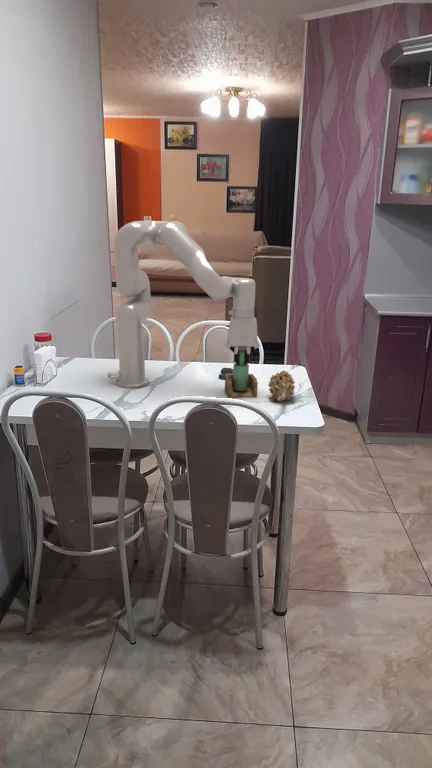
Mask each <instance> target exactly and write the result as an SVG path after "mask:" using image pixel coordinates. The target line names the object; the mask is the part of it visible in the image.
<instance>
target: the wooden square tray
mask: <svg viewBox="0 0 432 768" xmlns="http://www.w3.org/2000/svg"><path fill="white" fill-rule="evenodd" d="M255 378H256V377H255V375H254V374H253V373H249V374H248V389H247V390H245V391H237V390H234V389H233V374H225V380H224V390H225V393H226V395H227V398H228V399H233V398H234V399H235V398H236V399H238V398H240V399H242V398H245V399H246V398H247V399H248V398H249V399H250V398H258V379H257V380H256V379H255Z"/></svg>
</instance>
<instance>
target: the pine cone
mask: <svg viewBox="0 0 432 768" xmlns="http://www.w3.org/2000/svg"><path fill="white" fill-rule="evenodd" d="M269 379H270V380H269V381H268V383H267V386H268V387H269V388H268V391H269V394H271V395H272V398H274V399H277V402H281V403H282V401H288V400H291V397H292V396H293V395H294V394H295V391H294V390H295V388H296V386H295V385H294V384H295V381H294V378H293V376H292V374H291V373H290V374H289V372H288V371H286V370H281V371H280V372H278V371H277V372H276V373H275V375H274V374H271V376H270V377H269Z"/></svg>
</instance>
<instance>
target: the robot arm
mask: <svg viewBox="0 0 432 768" xmlns="http://www.w3.org/2000/svg"><path fill="white" fill-rule="evenodd" d="M148 245H156V246H164V247H165V248H166V249H167V250H168V251H169V252H170V253H171V254H172V255H173V256H174V257H175V258H176V259H177V260H178V261H179V262H180V263H181V264H182V265H183V266H184V267H185V268H186V270H187V272H188V274H190V276H191V278H192V279H193V280H194V281H195V283H196V284H197V285H198V286H199V287H200V288H201V290H203V291H204V293H206V295H208V296H209V297H210V298H211V299H212V300H214V301H216V302H221V301H222V302H223V301H225V300H227V299H228V298H232V297H233V298H232V299H233V300H232V304H233V305H232V309H231V310H228V315H231V317H230V320H229V326H228V332H227V339H226V341H225V343H224V348H226V349H229V350H230V351H231V352H232V353H233V362H234V364H235V363H236V365H238V364H239V354H238V349H239V347H245V365H247V364H248V363H250V354H251V353H252V352H253V351H254V350H256V349H259V348H260V346H261V345H260V343H259V341H258V321H257V318H256V317H255V305H256V304H255V302H256V281H255V280H254V279H253V278H249V277H241V278H239V277H232V276H227V275H222V276H220V275H219V274H218V273H217V272H216V271H215V270H214V268H212V266H211V265H210V264H209V262H208V260H207V257H206V254H205V251H204V249H203V248H202V247H201V246H200V245H199V244H198V243H197V242H196V241H195V240H194V239H193V238H192V237H191V236H190V235H189V233H188V228H187V227H186V226H185V224H184V223H182V222H180V221H177V220H170V221H169V220H168V221H167V220H165V221H164V220H163V221H162V220H134V221H131V222H128V223H126V224H125V225H123V226H121V227H120V228H119V229H118V230H117V232H116V234H115V236H114V240H113V252H114V266H115V267H114V269H115V282H116V283H115V284H116V289H117V292H118V294H119V295H120V296H122V297H124V298H126V301H123V302H122V303H121V304H120V305H119V306H118V308H117V309H116V312H115V321H116V326H117V327H116V328H117V336H118V338H117V342H118V362H119V363H118V365H119V370H118V371H116V372H107V378H108V379H109V378H110V379H111V380H114V379H115V384H116V386H119V387H121V388H127V389H128V388H129V389H130V388H131V389H132V388H133V389H134V388H141V387H145V386H148V385H149V383H150V379H149V378H148V377H147V376H146V371H145V370H146V368H145V366H146V365H145V363H146V362H145V356H146V355H145V333H144V329H143V328H144V327H143V322H145V321H147V320H148V318H149V317H150V315H151V312H152V301H151V299H152V297H151V283H150V279H149V277H148V275H147V273H146V271H144V270H142V269H140V260H139V254H138V248H139V247H143V246H148Z"/></svg>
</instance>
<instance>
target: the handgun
mask: <svg viewBox="0 0 432 768" xmlns="http://www.w3.org/2000/svg"><path fill="white" fill-rule="evenodd" d="M225 374H233V368H232V367H222V368H221V369H220V373H219V375H218V379H220V380H223V381H225ZM255 379H256V380H257V381H258V379H257V378H256V377H255Z"/></svg>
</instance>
